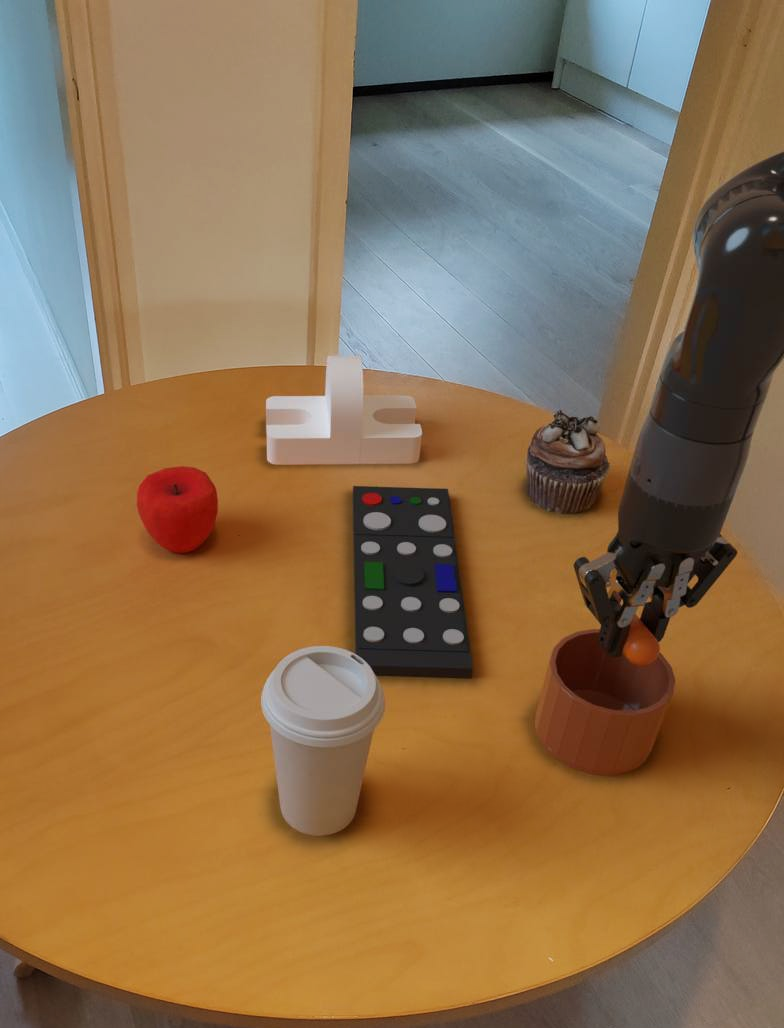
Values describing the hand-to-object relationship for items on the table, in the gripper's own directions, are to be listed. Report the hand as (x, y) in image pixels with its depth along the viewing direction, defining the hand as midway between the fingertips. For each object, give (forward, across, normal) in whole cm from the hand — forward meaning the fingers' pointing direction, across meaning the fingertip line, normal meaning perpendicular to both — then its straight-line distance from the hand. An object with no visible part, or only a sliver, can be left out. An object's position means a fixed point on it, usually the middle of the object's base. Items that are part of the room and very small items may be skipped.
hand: (627, 646), depth 85 cm
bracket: (+12, -6, +54) cm, 56 cm away
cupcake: (+12, +15, +36) cm, 41 cm away
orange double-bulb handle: (0, -1, +1) cm, 1 cm away
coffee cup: (+12, -27, 0) cm, 29 cm away
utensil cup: (+12, 0, +1) cm, 12 cm away
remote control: (+12, -8, +27) cm, 30 cm away
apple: (+12, -30, +40) cm, 51 cm away
